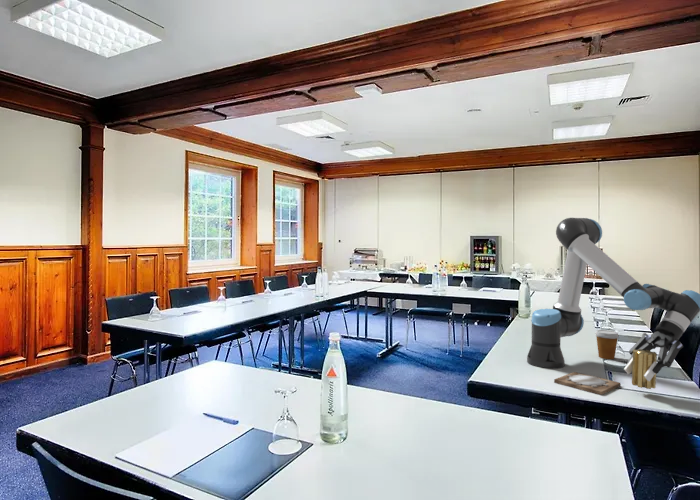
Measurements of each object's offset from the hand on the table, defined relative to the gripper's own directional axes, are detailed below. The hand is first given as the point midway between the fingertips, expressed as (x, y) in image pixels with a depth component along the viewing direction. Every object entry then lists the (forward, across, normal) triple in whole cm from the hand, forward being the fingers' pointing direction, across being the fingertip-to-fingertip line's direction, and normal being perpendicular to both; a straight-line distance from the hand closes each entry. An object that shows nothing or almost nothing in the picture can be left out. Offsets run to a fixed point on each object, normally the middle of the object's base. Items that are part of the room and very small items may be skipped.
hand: (636, 375), depth 155 cm
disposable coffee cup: (-17, +41, -28) cm, 53 cm away
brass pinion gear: (0, 0, -5) cm, 5 cm away
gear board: (+10, +14, 0) cm, 18 cm away
